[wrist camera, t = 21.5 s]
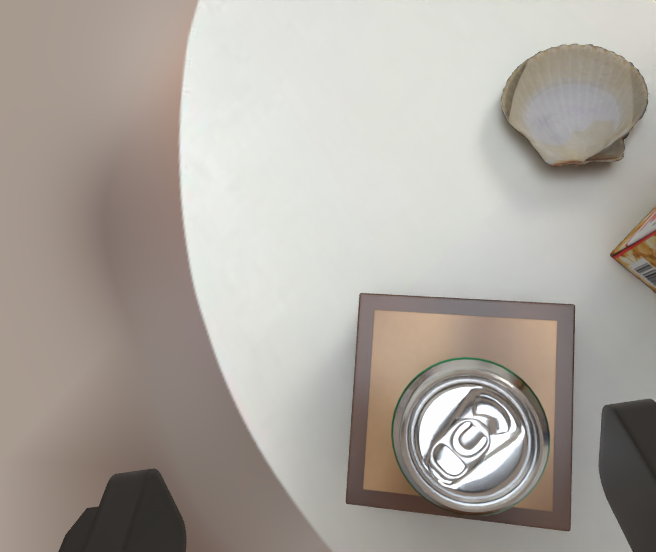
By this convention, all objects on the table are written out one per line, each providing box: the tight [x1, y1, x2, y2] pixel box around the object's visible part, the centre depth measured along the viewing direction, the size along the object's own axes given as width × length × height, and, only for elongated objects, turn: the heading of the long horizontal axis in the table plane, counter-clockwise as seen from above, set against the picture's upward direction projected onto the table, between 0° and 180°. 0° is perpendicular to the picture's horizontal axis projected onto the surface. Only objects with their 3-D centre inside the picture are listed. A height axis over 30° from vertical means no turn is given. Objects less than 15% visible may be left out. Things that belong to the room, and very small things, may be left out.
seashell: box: [501, 44, 648, 167], centre depth 36 cm, size 8×3×8 cm
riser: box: [346, 293, 575, 531], centre depth 33 cm, size 11×11×6 cm
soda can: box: [391, 357, 550, 517], centre depth 24 cm, size 5×5×12 cm
